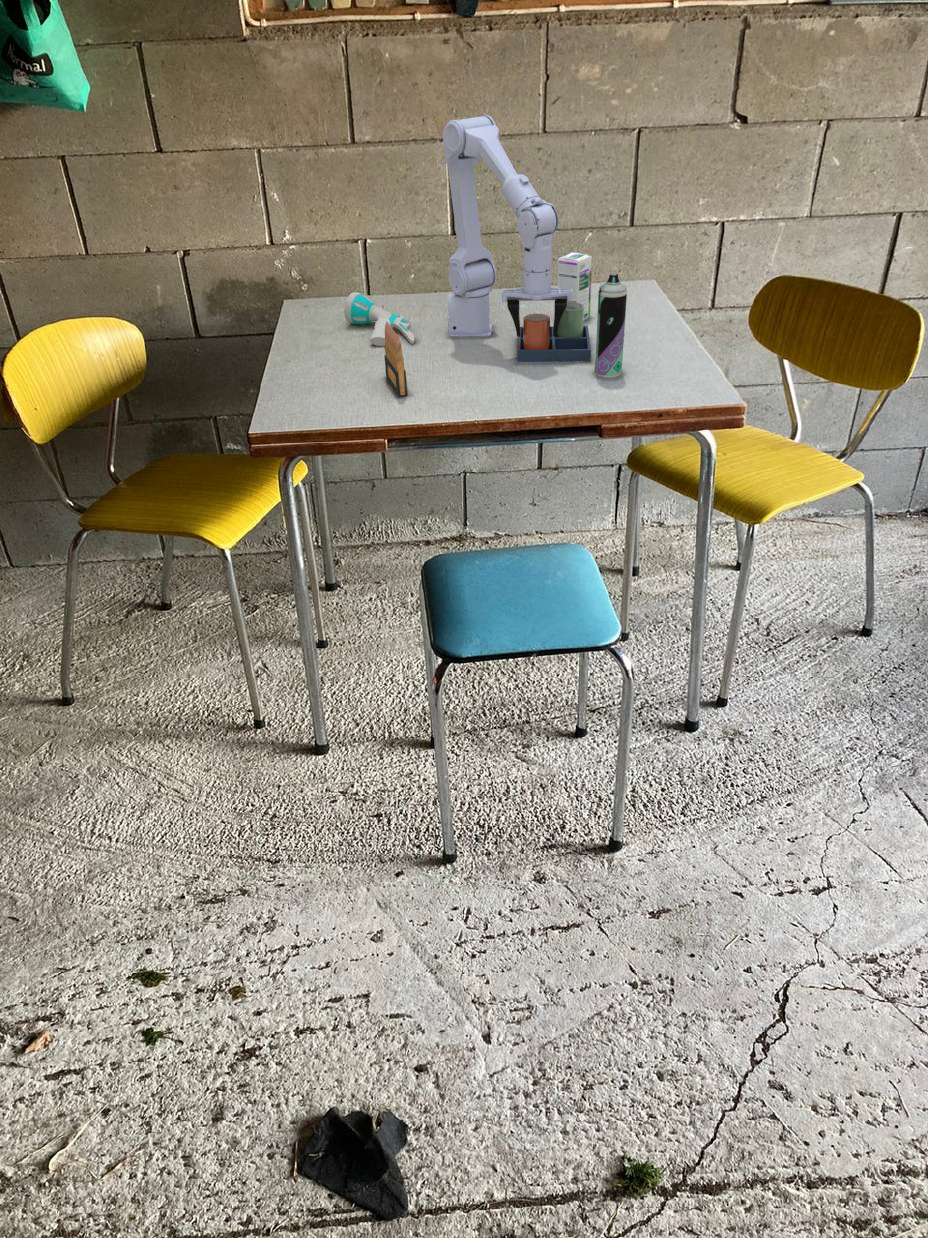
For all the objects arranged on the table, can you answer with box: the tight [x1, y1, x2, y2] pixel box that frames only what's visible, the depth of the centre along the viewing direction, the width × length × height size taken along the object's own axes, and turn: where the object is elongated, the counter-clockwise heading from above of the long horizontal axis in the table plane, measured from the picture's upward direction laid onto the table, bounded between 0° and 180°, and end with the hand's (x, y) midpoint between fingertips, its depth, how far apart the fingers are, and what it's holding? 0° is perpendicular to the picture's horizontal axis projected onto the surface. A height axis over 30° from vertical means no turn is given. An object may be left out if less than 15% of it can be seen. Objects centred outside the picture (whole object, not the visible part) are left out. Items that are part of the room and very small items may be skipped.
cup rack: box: [516, 325, 592, 363], centre depth 204 cm, size 15×15×3 cm
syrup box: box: [557, 251, 593, 320], centre depth 217 cm, size 6×6×14 cm
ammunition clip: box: [384, 322, 408, 398], centre depth 187 cm, size 11×2×12 cm, turn 18°
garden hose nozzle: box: [343, 291, 416, 347], centre depth 218 cm, size 7×18×20 cm
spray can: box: [594, 273, 628, 378], centre depth 187 cm, size 6×6×20 cm
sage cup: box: [557, 302, 585, 338], centre depth 205 cm, size 6×6×8 cm
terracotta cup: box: [522, 313, 551, 350], centre depth 200 cm, size 6×6×8 cm
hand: (536, 334), depth 199 cm, fingers open, 7 cm apart
